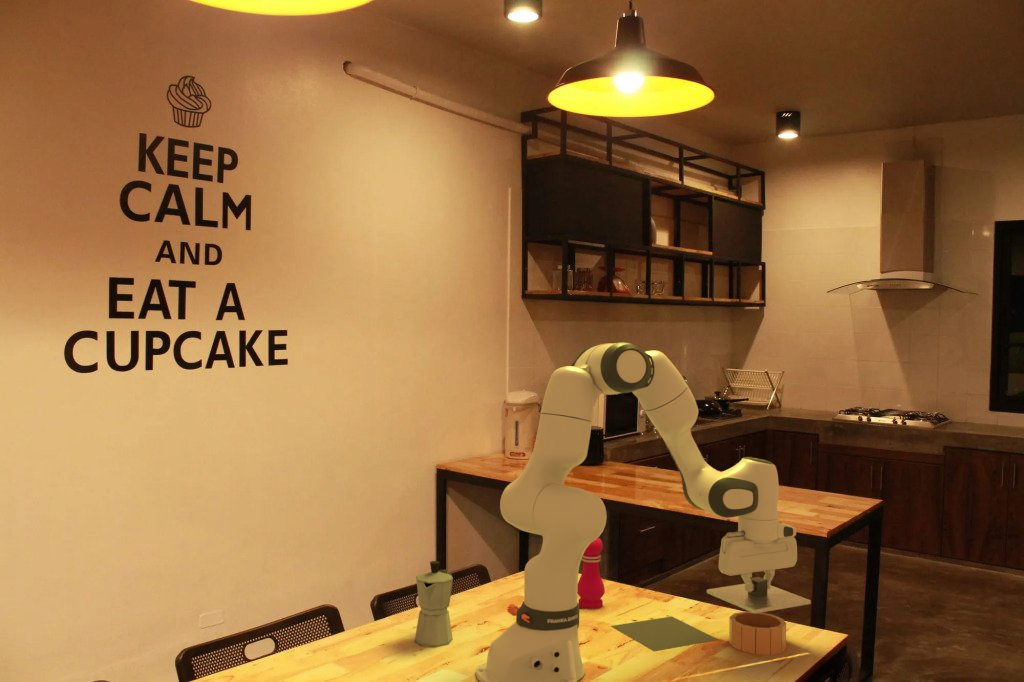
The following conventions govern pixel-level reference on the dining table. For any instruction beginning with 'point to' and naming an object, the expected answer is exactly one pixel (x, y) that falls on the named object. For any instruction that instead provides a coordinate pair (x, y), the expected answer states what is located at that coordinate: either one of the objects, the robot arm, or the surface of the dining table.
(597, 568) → the pepper mill
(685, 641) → the rubber mat
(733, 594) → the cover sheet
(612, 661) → the dining table surface
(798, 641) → the dining table surface
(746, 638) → the bowl
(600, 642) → the dining table surface
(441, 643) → the coffee maker
